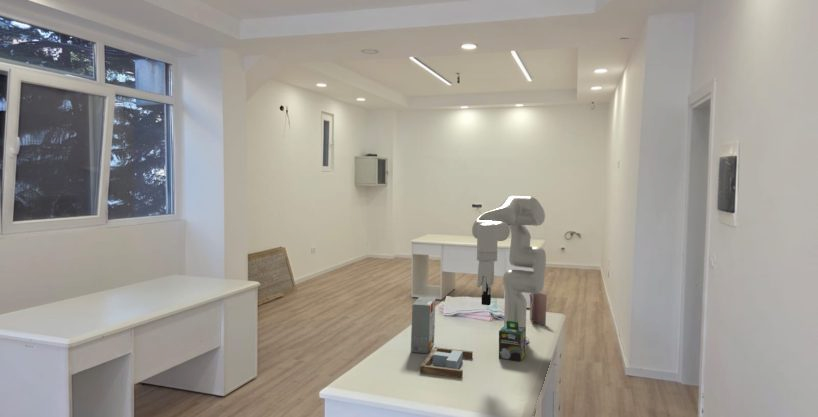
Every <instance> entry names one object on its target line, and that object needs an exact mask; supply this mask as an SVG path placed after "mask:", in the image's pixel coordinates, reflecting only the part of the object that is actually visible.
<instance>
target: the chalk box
mask: <svg viewBox="0 0 818 417" xmlns="http://www.w3.org/2000/svg"><path fill="white" fill-rule="evenodd" d="M510 324H514V325H515V326H510ZM526 331H527V326H526V327H518V322H514V321H507V325H505V326H504V325H503V326H502V327H501V328H500V329H499V330H498V359H504V360H509V361H515V362H521V361H522V360H523V358H524V357H525V356H526V352H527V350H526V349H527V347H526V345H527V343H526V337H527V336H526V335H527V333H526Z"/></svg>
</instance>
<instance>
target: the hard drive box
mask: <svg viewBox="0 0 818 417" xmlns="http://www.w3.org/2000/svg"><path fill="white" fill-rule="evenodd" d="M435 319H436V297H423V296H419V297H418V298H417V299H416V300H415V301H414V302H413V304H412V305H411V333H410V334H411V335H410V352H411V353H420V354H430V352H431V349H432V347H433V346H434V344H435V331H436V330H435V328H436V324H435V323H436V320H435Z"/></svg>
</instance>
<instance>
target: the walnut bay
mask: <svg viewBox="0 0 818 417" xmlns="http://www.w3.org/2000/svg"><path fill="white" fill-rule="evenodd" d="M452 350H456V351H463V358H462V359H473V357H474V356H473V351H472V350H463V349H455V348H447V347H444V348H443V347H437V346H434V348H433V349H432V350H431V351H430V352H429V353H428V355H427V357H426V358H425V359H424V360H423V362H422V363H421V365H420V366H419V373H420V374H425V375H426V374H428V375H433V376H434V375H435V376H442V377H450V378H458V379H462V378H463V377H464V376H463V375H464V374H463V373H464V372H463V369H460V368H458V369H452V368H446V367H445V366H437V365H431V364H433V354H434V353H435V351H437V352H445V353H451V352H452Z"/></svg>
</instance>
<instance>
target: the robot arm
mask: <svg viewBox="0 0 818 417" xmlns="http://www.w3.org/2000/svg"><path fill="white" fill-rule="evenodd" d="M544 209H545V208H544V207H543V206H542V205H541V203H540V201H539V200H538V199H537V198H535V197H534V196H525V195H523V196H521V195H511V196H508V197H507V198H505V200H504V201H503V202H502V203H501V205H500V206H499V207H498V208H495V209H492V210H490V211H489V210H488V211H486V212H483V213H481V214H480V215H479V216H478V217H477V218H476V219H475V221H474V223H473V225H472V228H471V232H472V236H473V238H475V239H476V261H478V266H477V284H476V286H477V288H480V287H481V305H482V306H490V305H491V301H492V300H491V299H492V298H491V297H492V294H491V291H492V285H493V284H494V282H495V262H498V242H504V241H506V240H507V239H508V237H510V235H511V238H510V246H509V256H508V258H509V259H508V261H509V264H510V265H511V266H514V267H518V268H524V269H525V268H526V269H532V271H531V270H523V269H508V270H506V271H505V272H504V273H503V277H502V278H503V279H502V280H503V289H504V314H503V316H504V318H503V319H504V321H503V322H504V323H503V327H504V326H505V325H507V321H514V322H518V327H526V328H527V307H528V306H527V304H528V302H527V300H526V297H525V295H524V293H525V294H530V293H533V294H539V293H541V294H542V292H543V291H544V290H543V289H544V285H545V275H546V265H547V254H546V251H545V249H544V248H542V247H539V246H531V239H532V235H531V233H530V231H529V230H528V228H527V227H526V226H534V227H535V226H536V227H537V226H541V225H543V224H544V223H545V218H546V217H545V216H546V214H545V213H546V212H545V210H544ZM510 326H515V325H514V324H510ZM529 342H530V338H529V337H528V336H526V344H528V343H529Z"/></svg>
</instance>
